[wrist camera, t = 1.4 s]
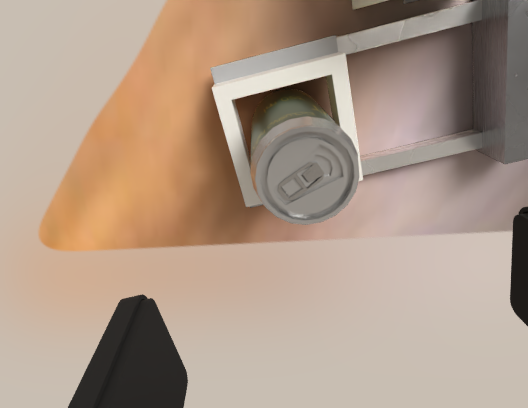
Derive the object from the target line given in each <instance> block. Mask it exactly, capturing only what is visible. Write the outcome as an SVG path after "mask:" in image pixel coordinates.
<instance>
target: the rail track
mask: <svg viewBox="0 0 528 408" xmlns="http://www.w3.org/2000/svg"><path fill="white" fill-rule="evenodd" d="M471 22H472V50H473V129H472V130H468V131H463V132H459V133H455V134H451V135H446V136H442V137H438V138H434V139H430V140H425V141H421V142H417V143H413V144H408V145H404V146H400V147H396V148H391V149H387V150H383V151H379V152H375V153H370V154H366V155H362V156H360V161H361V168H362V175H368V174H372V173H376V172H381V171H385V170H389V169H393V168H398V167H402V166H406V165H411V164H415V163H419V162H424V161H428V160H432V159H436V158H441V157H445V156H449V155H454V154H458V153H462V152H467V151H471V150H477V151H479V152H481V153H483V154H485V155H487V156H489V157H491V158H493V159H495V160H497V161H499V162H501V163H503V164H508V163H512V162H517V161H521V160H525V159H528V0H472V2H468V3H464V4H460V5H456V6H453V7H449V8H445V9H441V10H437V11H433V12H430V13H426V14H422V15H418V16H414V17H410V18H407V19H403V20H399V21H395V22H391V23H388V24H384V25H380V26H376V27H372V28H368V29H365V30H361V31H357V32H353V33H349V34H345V35H342V36H338V37H336V40H337V46H338V52H340V53H345V54H346V55H347V54H351V53H355V52H359V51H363V50H367V49H370V48H374V47H378V46H382V45H386V44H390V43H394V42H398V41H401V40H405V39H409V38H413V37H417V36H421V35H425V34H429V33H433V32H436V31H440V30H444V29H448V28H452V27H456V26H460V25H464V24H468V23H471Z"/></svg>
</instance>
